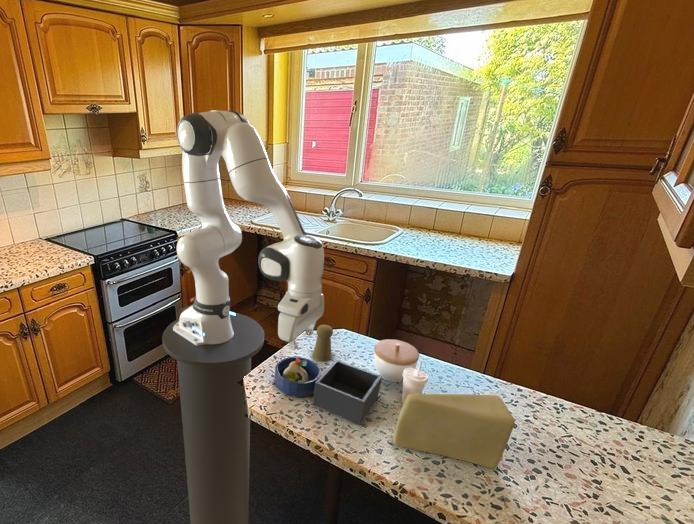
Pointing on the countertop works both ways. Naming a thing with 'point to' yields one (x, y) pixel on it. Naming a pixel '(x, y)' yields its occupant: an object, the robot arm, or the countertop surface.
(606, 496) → the countertop surface
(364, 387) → the bin
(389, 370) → the lidded bowl
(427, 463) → the countertop surface
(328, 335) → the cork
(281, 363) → the toy bowl
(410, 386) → the smoothie
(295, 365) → the rattle
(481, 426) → the cheese
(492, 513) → the countertop surface
